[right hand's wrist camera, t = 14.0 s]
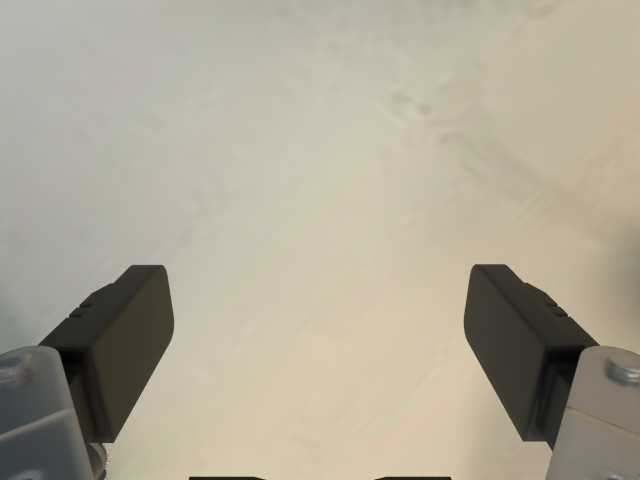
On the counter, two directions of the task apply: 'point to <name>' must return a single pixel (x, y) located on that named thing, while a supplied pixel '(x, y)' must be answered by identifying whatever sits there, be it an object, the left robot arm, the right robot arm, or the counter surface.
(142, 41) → the counter surface
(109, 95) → the counter surface
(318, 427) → the counter surface
